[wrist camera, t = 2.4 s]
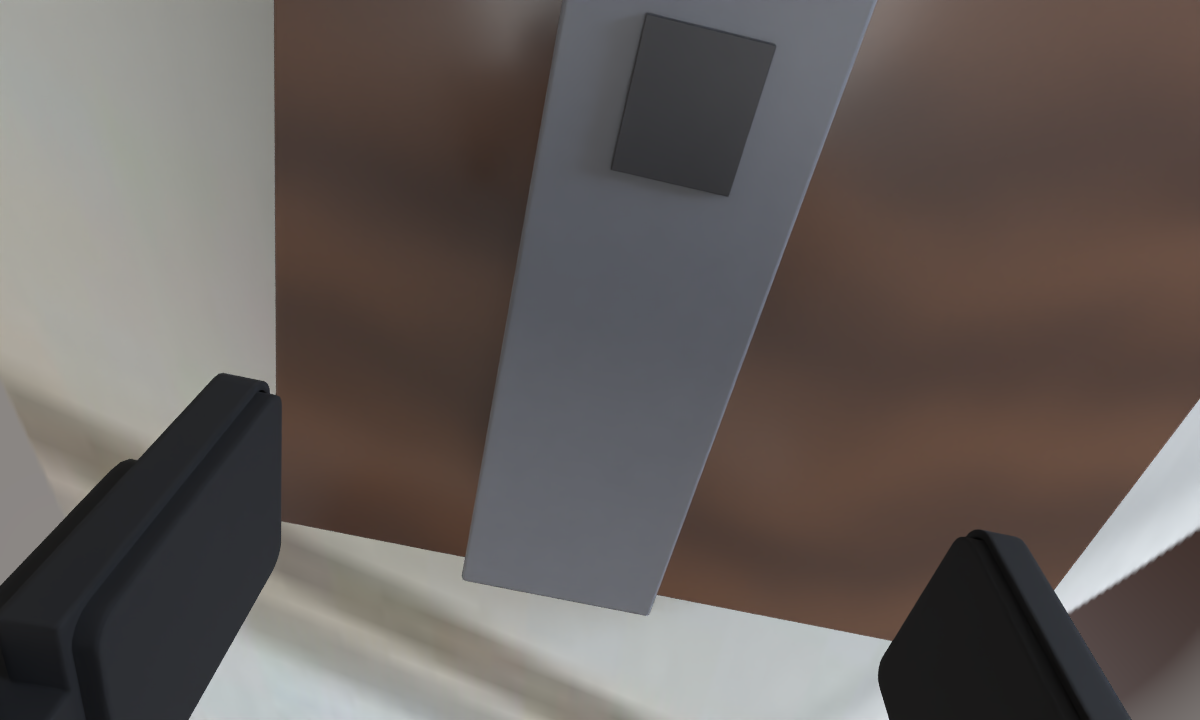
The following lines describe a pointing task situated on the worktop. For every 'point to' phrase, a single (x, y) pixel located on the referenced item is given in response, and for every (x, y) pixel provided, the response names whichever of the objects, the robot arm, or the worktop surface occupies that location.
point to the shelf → (794, 303)
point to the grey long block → (645, 276)
